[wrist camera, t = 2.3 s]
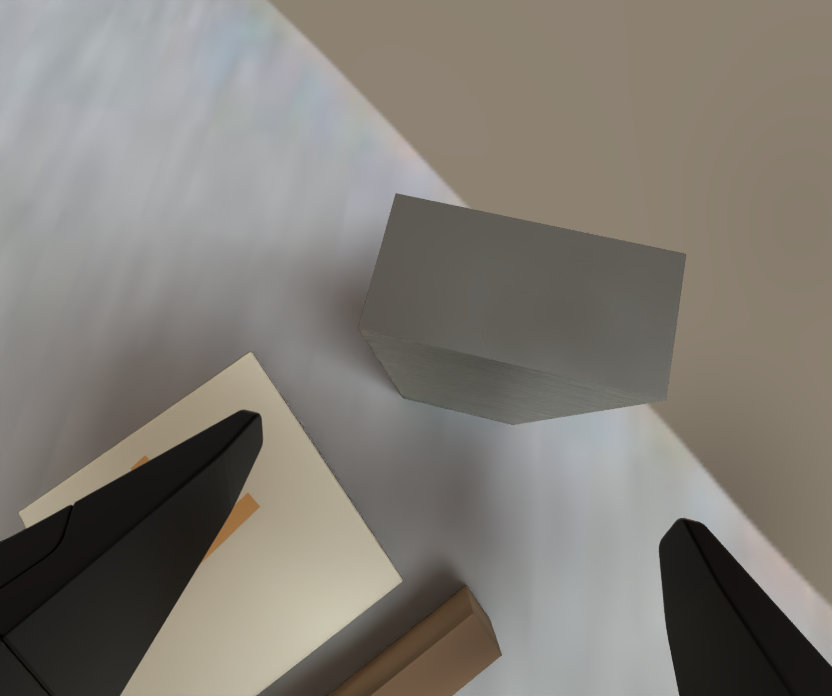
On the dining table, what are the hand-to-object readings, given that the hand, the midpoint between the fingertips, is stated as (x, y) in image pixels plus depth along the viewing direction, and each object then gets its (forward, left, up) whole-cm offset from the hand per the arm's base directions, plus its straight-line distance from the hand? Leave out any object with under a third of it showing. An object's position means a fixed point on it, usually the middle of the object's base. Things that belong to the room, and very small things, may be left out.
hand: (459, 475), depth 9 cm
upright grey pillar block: (+3, -4, -10) cm, 11 cm away
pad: (+3, +10, -10) cm, 15 cm away
